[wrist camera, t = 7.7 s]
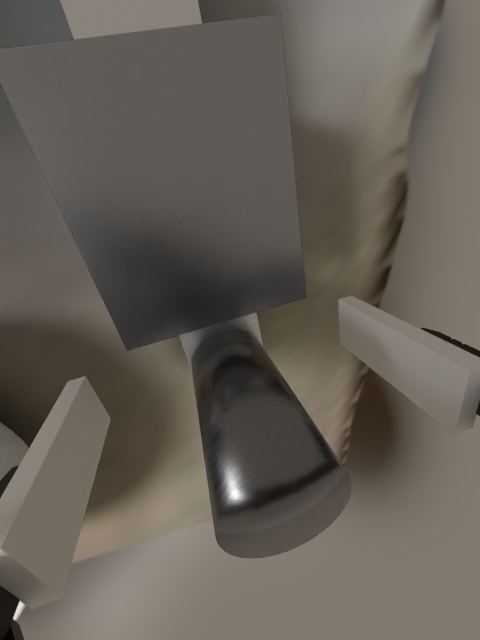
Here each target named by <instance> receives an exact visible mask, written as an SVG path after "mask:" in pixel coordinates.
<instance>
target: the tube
mask: <svg viewBox="0 0 480 640" xmlns="http://www.w3.org/2000/svg"><path fill="white" fill-rule="evenodd" d="M60 2H61V5H62V7H63V10H64V13H65V16H66V19H67V22H68V24H69V27H70V30H71V33H72V36H73V38H74V39H82V38H90V37H98V36H106V35H114V34H122V33H130V32H138V31H146V30H154V29H162V28H170V27H178V26H186V25H194V24H202V20H201V14H200V9H199V4H198V0H60ZM179 337H180V340H181V343H182V346H183V349H184V351H185V354H186V357H187V360H188V363H189V365H190V368H191V371H192V375H193V382H194V389H195V396H196V403H197V410H198V417H199V424H200V431H201V438H202V445H203V452H204V459H205V466H206V473H207V480H208V487H209V494H210V501H211V509H212V516H213V523H214V530H215V536H216V540H217V543H218V544H219V546H220V547H221V548H222V549H223V550H224V551H225V552H227V553H229V554H231V555H233V556H237V557H241V558H262V557H268V556H273V555H277V554H280V553H283V552H286V551H289V550H291V549H294V548H296V547H298V546H300V545H302V544H304V543H306V542H308V541H309V540H311V539H313V538H314V537H316V536H317V535H318V534H320V533H321V532H322V531H324V530H325V529H326V528H327V527H328V526H330V525H331V524H332V522H334V521H335V519H336V518H337V517H338V516H339V515H340V513H341V512H342V511H343V509H344V508H345V505H346V504H347V502H348V500H349V497H350V494H351V487H352V485H351V479H350V477H349V475H348V473H347V472H346V470H345V469H344V467H343V466H342V464H341V463H340V461H339V460H338V458H337V457H336V455H335V454H334V452H333V451H332V449H331V448H330V446H329V445H328V443H327V442H326V440H325V439H324V437H323V436H322V434H321V433H320V431H319V430H318V428H317V427H316V425H315V424H314V422H313V421H312V420H311V418H310V417H309V415H308V414H307V412H306V411H305V409H304V408H303V406H302V405H301V403H300V402H299V400H298V399H297V397H296V396H295V394H294V393H293V391H292V390H291V388H290V387H289V385H288V384H287V382H286V381H285V379H284V378H283V376H282V375H281V373H280V372H279V370H278V369H277V367H276V366H275V364H274V363H273V361H272V360H271V358H270V357H269V356H268V354H267V353H266V351H265V350H264V348H263V343H262V338H261V333H260V327H259V322H258V317H257V312H256V313H253V314H249V315H246V316H243V317H239V318H236V319H233V320H229V321H226V322H222V323H219V324H216V325H212V326H209V327H206V328H202V329H199V330H195V331H192V332H189V333H185V334H182V335H179Z"/></svg>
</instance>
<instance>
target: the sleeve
mask: <svg viewBox="0 0 480 640" xmlns="http://www.w3.org/2000/svg"><path fill="white" fill-rule="evenodd" d="M0 84H1V86H2V88H3V90H4V92H5V94H6V96H7V98H8V101H9V103H10V105H11V107H12V109H13V111H14V113H15V115H16V117H17V120H18V122H19V124H20V126H21V128H22V130H23V132H24V134H25V136H26V139H27V141H28V143H29V145H30V147H31V149H32V151H33V153H34V155H35V158H36V160H37V162H38V164H39V166H40V168H41V170H42V172H43V174H44V177H45V179H46V181H47V183H48V185H49V187H50V189H51V191H52V193H53V196H54V198H55V200H56V202H57V204H58V206H59V208H60V210H61V212H62V215H63V217H64V219H65V221H66V223H67V225H68V227H69V229H70V231H71V233H72V236H73V238H74V240H75V242H76V244H77V246H78V248H79V250H80V252H81V255H82V257H83V259H84V261H85V263H86V265H87V267H88V269H89V271H90V274H91V276H92V278H93V280H94V282H95V284H96V286H97V288H98V290H99V293H100V295H101V297H102V299H103V301H104V303H105V305H106V307H107V309H108V312H109V314H110V316H111V318H112V320H113V322H114V324H115V326H116V328H117V331H118V333H119V335H120V337H121V339H122V341H123V343H124V345H125V347H126V350H127V351H128V350H131V349H135V348H138V347H141V346H145V345H148V344H152V343H155V342H158V341H162V340H165V339H168V338H172V337H175V336H179V335H182V334H185V333H189V332H192V331H195V330H199V329H202V328H206V327H209V326H212V325H216V324H219V323H222V322H226V321H229V320H233V319H236V318H239V317H243V316H246V315H249V314H253V313H256V312H260V311H263V310H266V309H270V308H273V307H276V306H280V305H283V304H287V303H290V302H293V301H297V300H300V299H303V298H306V290H305V279H304V268H303V257H302V246H301V235H300V224H299V213H298V202H297V191H296V180H295V168H294V157H293V146H292V135H291V124H290V113H289V102H288V91H287V80H286V69H285V58H284V47H283V36H282V25H281V14H273V15H265V16H257V17H249V18H241V19H233V20H225V21H217V22H210V23H202V24H194V25H186V26H178V27H170V28H162V29H154V30H146V31H138V32H130V33H122V34H114V35H106V36H98V37H90V38H82V39H74V40H66V41H58V42H50V43H42V44H34V45H26V46H18V47H10V48H2V49H0Z"/></svg>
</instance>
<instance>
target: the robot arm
mask: <svg viewBox="0 0 480 640" xmlns="http://www.w3.org/2000/svg"><path fill="white" fill-rule="evenodd" d="M338 307H339V340H340V344H341V345H342V346H344V347H345V348H346V349H347V350H349V351H350V352H351V353H352V354H354V355H355V356H356V357H357V358H359V359H360V360H361V361H362V362H364V363H365V364H366V365H367V366H369V367H370V368H371V369H372V370H374V371H375V372H376V373H378V374H379V375H380V376H381V377H383V378H384V379H385V380H386V381H387V382H389V383H390V384H391V385H393V386H394V387H395V388H396V389H398V390H399V391H400V392H401V393H403V394H404V395H405V396H406V397H408V398H409V399H410V400H411V401H413V402H414V403H415V404H416V405H418V406H419V407H420V408H421V409H423V410H424V411H425V412H426V413H428V414H429V415H430V416H431V417H433V418H434V419H435V420H437V421H438V422H439V423H440V424H441V425H443V426H444V427H445V428H446V429H448V430H449V431H450V432H452V433H453V434H454V435H455V434H457V433H460V432H462V431H464V430H467V429H469V428H472V427H473V424H474V421H475V418H476V414H478V415H479V416H480V351H479V350H477V349H475V348H472V347H470V346H468V345H466V344H462V343H461V342H459V341H457V340H455V339H451V337H449V336H446V335H444V334H442V333H440V332H437V331H433V330H429V329H425V328H421V329H420V328H418V327H415V326H413V325H411V324H409V323H407V322H405V321H403V320H401V319H399V318H397V317H395V316H393V315H391V314H389V313H386V312H384V311H382V310H380V309H378V308H376V307H374V306H372V305H370V304H368V303H366V302H364V301H362V300H360V299H358V298H356V297H353V296H348V297H344V298H341V299H338ZM110 420H111V418H110V416H109V415H108V413H107V411H106V410H105V408H104V406H103V405H102V403H101V401H100V400H99V398H98V396H97V395H96V393H95V391H94V389H93V388H92V386H91V384H90V383H89V381H88V379H87V378H86V376H84V377H80V378H77V379H74V380H71V381H68V382H67V384H66V386H65V387H64V389H63V391H62V392H61V394H60V396H59V398H58V399H57V401H56V403H55V405H54V406H53V408H52V410H51V411H50V413H49V415H48V417H47V418H46V420H45V422H44V424H43V425H42V427H41V429H40V430H39V432H38V434H37V436H36V437H35V439H34V441H33V443H32V444H31V446H30V448H29V449H28V451H27V453H26V455H25V456H24V458H23V460H22V462H21V463H20V465H18V466H15V467H12V468H11V469H10V470H9V471H8V473H7V474H6V475H5V476H4V477H3V478H2V479H1V480H0V640H24V638H23V635H22V632H21V629H20V626H19V624H18V623H17V622H16V621H15V620H14V619H13V617H14V615H15V612H16V609H17V607H18V604H19V601H20V602H22V603H23V604H25V605H26V606H28V607H29V608H31V609H35V608H37V607H40V606H42V605H44V604H47V603H49V602H52V601H54V600H57V599H59V598H61V597H62V596H63V592H64V588H65V585H66V581H67V577H68V574H69V570H70V566H71V563H72V559H73V556H74V552H75V548H76V545H77V541H78V537H79V534H80V530H81V526H82V523H83V519H84V515H85V512H86V508H87V504H88V501H89V497H90V493H91V490H92V486H93V482H94V479H95V475H96V471H97V468H98V464H99V460H100V457H101V453H102V449H103V446H104V442H105V438H106V435H107V431H108V427H109V424H110Z"/></svg>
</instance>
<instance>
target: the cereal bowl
mask: <svg viewBox="0 0 480 640" xmlns="http://www.w3.org/2000/svg"><path fill="white" fill-rule="evenodd" d="M28 449H29V447H28V446H27V445H26V444H25V443H24V441H23V440H22V439H21V438H20V437H18V436H17V435H16V434H15V433H14V432H13V431H12V430H10V429H8V428H7V427H6V426H5V425H3V424H2V423H1V422H0V480H1V479H2V478H3V477H4V476H5V475H6V474H7V473H8V471H9V470H10V469H11V468H12V467H15V466H18V465H20V463H21V462H22V460H23V458H24V456H25V455H26V453H27V451H28ZM25 606H26V605H25V604H23V603H22V602H20V601H19V604H18V607H17V609H16V612H15V615H14V617H13V619H14V620H15V621H16V620H17V619H18V617H19V616H20V614H21V613H22V611H23V609H24V608H25Z"/></svg>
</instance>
